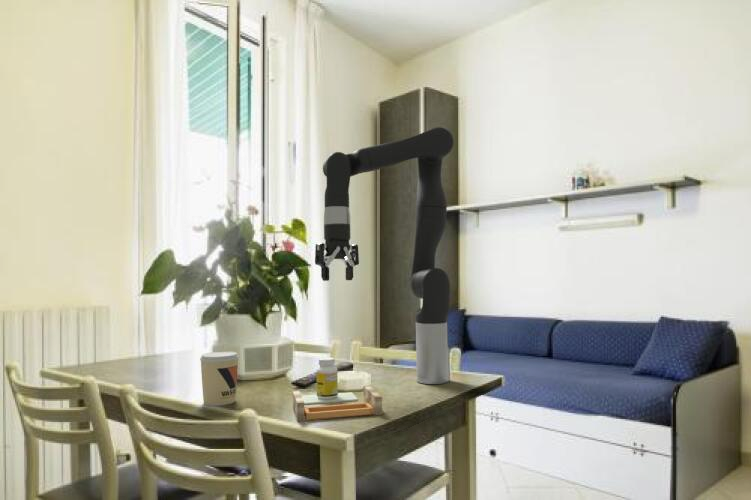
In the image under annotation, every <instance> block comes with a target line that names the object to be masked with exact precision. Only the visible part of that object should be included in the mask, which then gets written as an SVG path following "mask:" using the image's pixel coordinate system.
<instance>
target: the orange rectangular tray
mask: <svg viewBox="0 0 751 500" xmlns="http://www.w3.org/2000/svg"><path fill="white" fill-rule="evenodd" d="M371 416H374V413H373V407H372V406H371V405H370V404H369V403H364V402H357V403H343V404H332V405H331V404H329V405H318V406H317V405H316V406H306V407H305V406H304V420H305V421H306V422H310V421H320V420H321V421H322V420H323V421H324V420H333V419H335V420H336V419H347V418H357V417H360V418H361V417H371Z"/></svg>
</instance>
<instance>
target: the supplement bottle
mask: <svg viewBox="0 0 751 500" xmlns="http://www.w3.org/2000/svg"><path fill="white" fill-rule="evenodd" d="M318 365H319V366H318V367H317V369H316V395H317V397H318V398H320V399H333V398H336V397H337V396H338V393H339V388H338V387H339V381H338V378H339V376H338V368H337V366H335V358H334V357H321V358H319V359H318Z"/></svg>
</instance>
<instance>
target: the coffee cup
mask: <svg viewBox="0 0 751 500" xmlns="http://www.w3.org/2000/svg"><path fill="white" fill-rule="evenodd" d="M199 360H200V368H201V369H200V370H201V387H202V399H203V404H204V405H205V406H218V407H219V406H226V405H231V404H233V403H235V402H236V398H237V381H238V369H239V367H238V366H239V365H238V364H239V354H238V352H236V351H214V352H207V353H204V354H203V353H202V355H201V357H200V359H199Z"/></svg>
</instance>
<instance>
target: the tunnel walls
mask: <svg viewBox="0 0 751 500" xmlns="http://www.w3.org/2000/svg"><path fill="white" fill-rule="evenodd" d="M291 396H292V410H293V414H294V416H295V419H296V422H298V423H299V422H301V423H302V422H305V416H304V407H305V405H304V401H303V399H302V396H303V395H301V392H300V390H292V395H291ZM363 403H369V404H370V405H371V406H372V407H373V415H375V416H382V415H383V397H382V395H381V394H380V393H378V392H377V391H376V390H375V389H374V388H373V387H372V386H370V385H363Z"/></svg>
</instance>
